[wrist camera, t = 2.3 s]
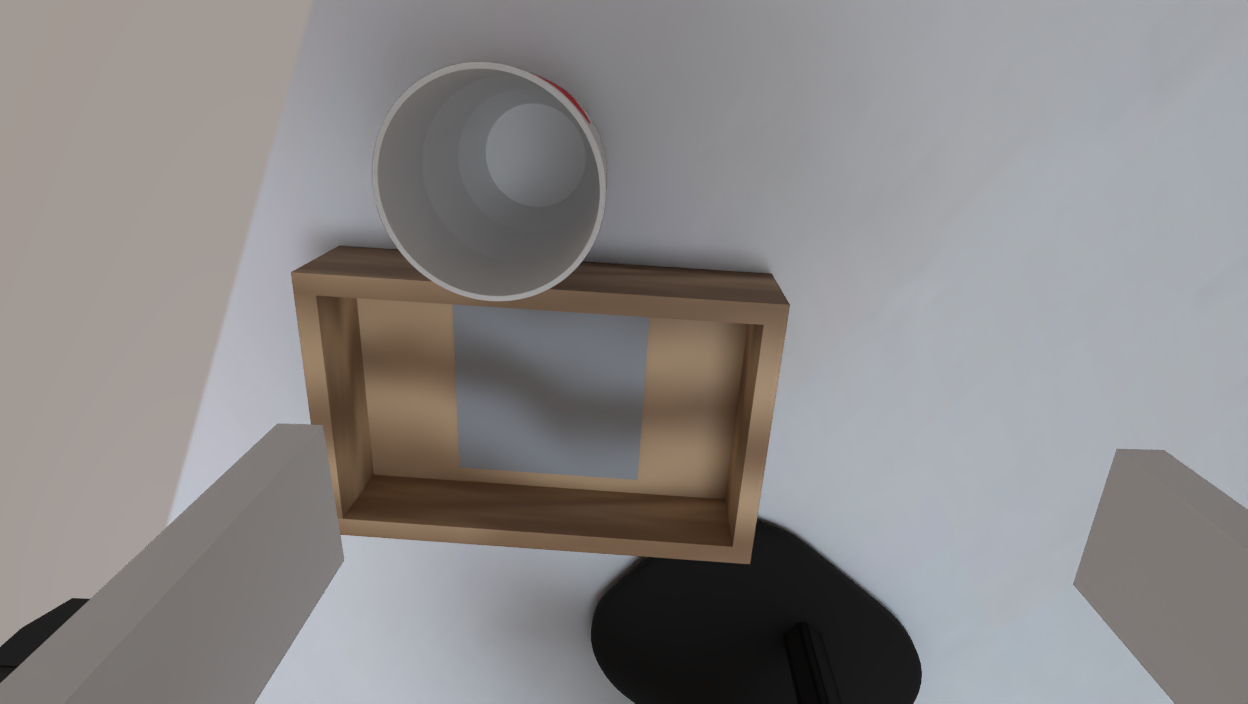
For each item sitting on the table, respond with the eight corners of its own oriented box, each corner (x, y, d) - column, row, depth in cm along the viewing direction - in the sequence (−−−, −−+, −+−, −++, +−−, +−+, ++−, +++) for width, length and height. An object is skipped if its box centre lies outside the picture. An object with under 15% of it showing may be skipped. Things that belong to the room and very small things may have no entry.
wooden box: (339, 246, 35) (291, 272, 30) (771, 273, 35) (789, 305, 30) (363, 480, 40) (325, 533, 36) (738, 507, 40) (749, 564, 35)
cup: (646, 200, 34) (643, 248, 24) (500, 265, 35) (445, 334, 26) (574, 33, 31) (539, 16, 22) (420, 111, 32) (325, 127, 23)
